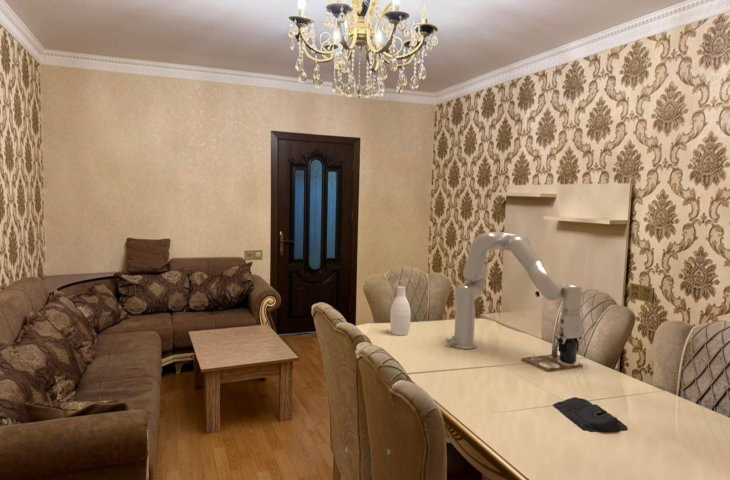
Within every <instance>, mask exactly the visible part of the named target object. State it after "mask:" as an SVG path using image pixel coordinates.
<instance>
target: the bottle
mask: <svg viewBox="0 0 730 480" xmlns="http://www.w3.org/2000/svg"><path fill="white" fill-rule="evenodd" d="M396 288H397V292H396V296H395V297H394V300H393V301H392V304H391V307H390V313H389V316H390V317H389V318H390V319H389V320H390V333H391V335H394V336H400V337H402V336H408V334H409V332H410V326H411V317H412V312H411V305H410V302H409V300H408V299H407V296H406V294H407V293H406V289H407V288H406V286H403V285H398V286H397V287H396Z"/></svg>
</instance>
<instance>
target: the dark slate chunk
mask: <svg viewBox="0 0 730 480" xmlns="http://www.w3.org/2000/svg"><path fill="white" fill-rule="evenodd" d="M552 406H553V408H555V410H557V411H558V412H560V413H561V414H562V415H563V416H564V417H565V418H567V419H568V420H570V421H571V422H572V423H573V424H574V425H576V426H577V427H578V428H580V430H582V431H584V432H585V431H587V432H590V433H618V432H622V431H624V430H625V431H626V430H628V426H627V425H626V424H625V423H623V422H622V421H620V420H619V419H618V418H617V417H616V416H614V415H612V414H611V413H609V412H608V411H606V410H605V409H604V408H602V406H599V404H593V403H592V402H590V401H589V400H587V399H585V398H579V397H576V396H575V397H570V398H567V399H564V400H561V401H558V402H555V403H554V404H552Z"/></svg>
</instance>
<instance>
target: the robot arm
mask: <svg viewBox="0 0 730 480" xmlns="http://www.w3.org/2000/svg"><path fill="white" fill-rule="evenodd" d="M531 245H532V244H531V241H530V239H529V237H528V236H525V235H523V234H515V233H509V232H502V231H490V232H483V233H481V234H478V236H476V237H475V238H474V239H473V241H472V244H471V246H470V249H469V252H468V255H467V258H466V260H465V261H466V262H465V264H464V267H463V271H462V275H463V277H464V279H465V282H462V283H460V284H458V285H457V286H456V288H455V291H454V302H455V309H454V311H455V312H454V315H455V316H454V335H452V337H451V338H445V343H446V344H447V343H448V344H449V343H450V345H451V347H454V348H457V349H463V350H472V349H475V348H477V343H475V342H474V339H475V321H476V320H475V318H476V307H475V300H476V299H478V298H480V296H481V295H482V293H483V289H484V286H485V283H486V280H487V276H488V271H489V270H488V267H487V264H485V262H486V259H487V255H488V252H489V251H492V250H493V251H494V250H503V251H509V252H510V253H512V255H513V257H515V258H516V260H517V261H518V262H519V264H520V265H521V266H522V267H523V269H524V270H525V271H526V273H527V275H528V277H529V279H530V280H531V282H532V284H533V285H534V286H535V288H536V290H538V291H539V292H540V294H541V295H542V296H543V297H544V299H547V300H548V301H555V300H558V299H560V298H562V301H561V302H562V305H561V314H560V318H559V323H558V329H557V332H556V333H554V337H555V339H556V340H557V344H558V351H557V352H559V353H560V352H562V353H565V346H566V345H565V344H564V343H565V341H566V339H572V338H575V341H576V342H577V352H579V344H580V343H581V339H582V338H583V336H584V331H583V319H582V315H581V308H582V293H583V288H582V286H581V285H580V284H577V283H566V282H563V281H562V282H561V281H556V280H555V281H553V279H552V278H551V277H550V275H549V274H548V272H547V271H546V269H545V266H544V262H543V260H542V258H541V257H540V256H539V254H538V253H537V252H536V250H535V249H534V248H533V247H532V246H531Z"/></svg>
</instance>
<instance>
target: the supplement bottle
mask: <svg viewBox="0 0 730 480" xmlns="http://www.w3.org/2000/svg"><path fill="white" fill-rule="evenodd" d="M564 344H565V345H566V346H565V353H562V352H559V356H560V360H561V361H562V362H566V363H575V362H577V352H578V351H577V342H576V341H575V338H572V339H566V341H565V343H564Z"/></svg>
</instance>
